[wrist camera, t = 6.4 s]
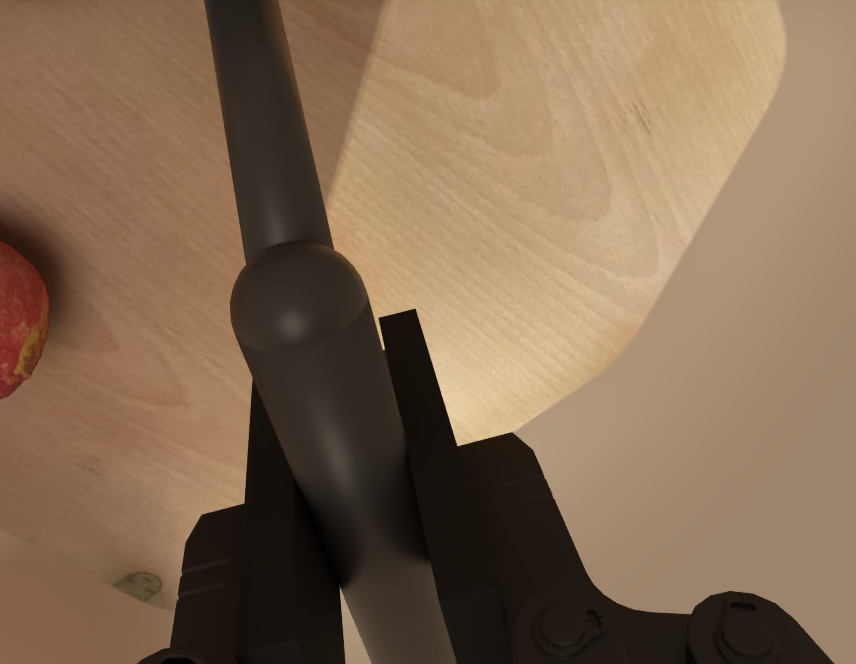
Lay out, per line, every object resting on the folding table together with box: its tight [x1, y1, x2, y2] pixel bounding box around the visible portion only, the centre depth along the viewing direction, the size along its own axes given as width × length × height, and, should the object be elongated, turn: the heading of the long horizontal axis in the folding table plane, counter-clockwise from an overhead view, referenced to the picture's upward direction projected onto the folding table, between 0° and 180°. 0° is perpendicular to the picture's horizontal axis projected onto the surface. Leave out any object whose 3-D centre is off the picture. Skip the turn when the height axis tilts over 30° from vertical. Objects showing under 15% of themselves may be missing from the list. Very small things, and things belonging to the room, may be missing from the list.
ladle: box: [204, 0, 457, 664], centre depth 12 cm, size 19×6×10 cm, turn 11°
